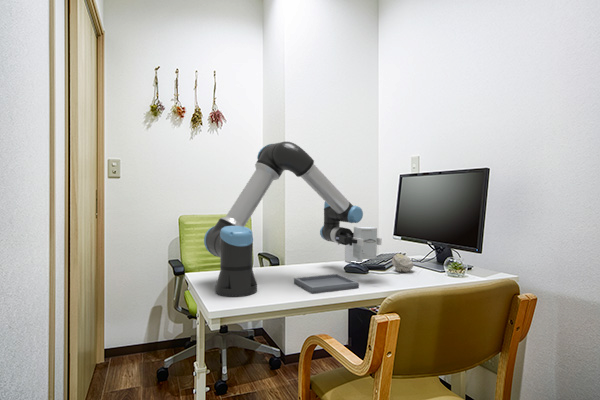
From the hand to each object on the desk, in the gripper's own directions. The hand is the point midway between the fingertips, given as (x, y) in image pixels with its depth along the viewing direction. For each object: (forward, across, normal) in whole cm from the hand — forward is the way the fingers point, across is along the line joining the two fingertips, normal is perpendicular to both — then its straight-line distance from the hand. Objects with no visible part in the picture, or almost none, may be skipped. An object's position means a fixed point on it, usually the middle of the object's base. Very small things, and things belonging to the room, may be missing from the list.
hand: (371, 242), depth 150 cm
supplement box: (-5, 0, -7) cm, 9 cm away
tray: (-5, +18, -17) cm, 25 cm away
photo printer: (-41, -18, -17) cm, 48 cm away
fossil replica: (-15, -28, -17) cm, 36 cm away
